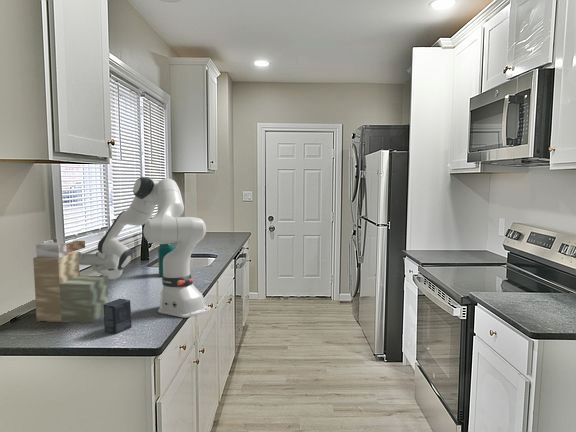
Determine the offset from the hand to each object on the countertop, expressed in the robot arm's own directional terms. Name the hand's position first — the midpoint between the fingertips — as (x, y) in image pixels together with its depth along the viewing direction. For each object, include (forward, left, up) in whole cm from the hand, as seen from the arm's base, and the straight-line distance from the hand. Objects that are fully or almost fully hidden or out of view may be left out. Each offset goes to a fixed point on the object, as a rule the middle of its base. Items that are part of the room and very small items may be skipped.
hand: (87, 253), depth 192 cm
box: (-46, +11, -22) cm, 52 cm away
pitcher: (+13, -52, -22) cm, 58 cm away
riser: (-17, +15, -22) cm, 31 cm away
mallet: (-9, +13, +3) cm, 16 cm away
